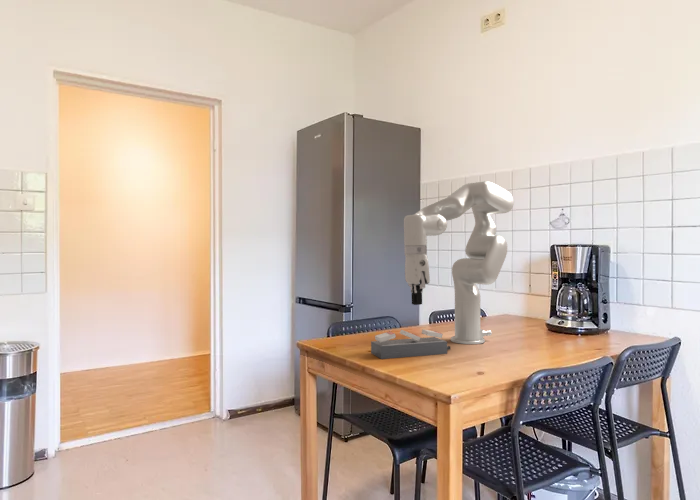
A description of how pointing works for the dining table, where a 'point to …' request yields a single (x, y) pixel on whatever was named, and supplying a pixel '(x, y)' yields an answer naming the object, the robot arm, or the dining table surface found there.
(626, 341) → the dining table surface
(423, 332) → the plate
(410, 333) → the rocker
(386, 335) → the rocker
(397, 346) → the power strip
